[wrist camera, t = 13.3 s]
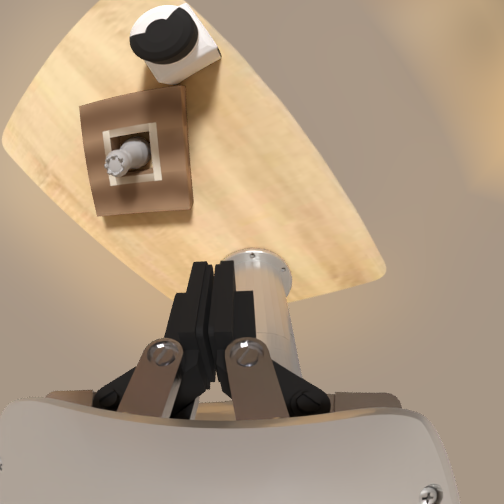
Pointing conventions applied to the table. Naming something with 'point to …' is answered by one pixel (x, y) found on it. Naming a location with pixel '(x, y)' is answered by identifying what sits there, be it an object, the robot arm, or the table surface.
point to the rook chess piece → (128, 156)
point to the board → (162, 150)
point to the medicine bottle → (173, 43)
